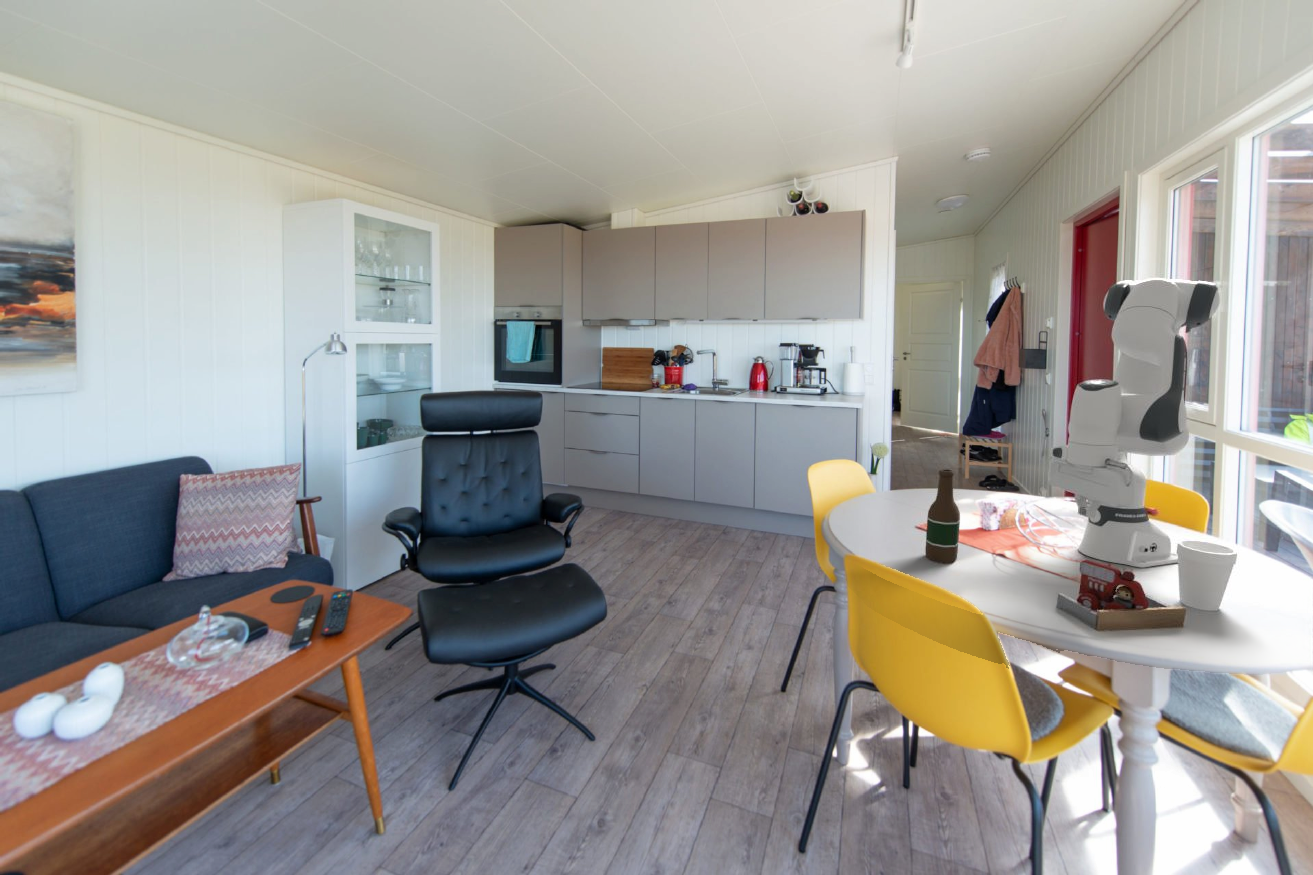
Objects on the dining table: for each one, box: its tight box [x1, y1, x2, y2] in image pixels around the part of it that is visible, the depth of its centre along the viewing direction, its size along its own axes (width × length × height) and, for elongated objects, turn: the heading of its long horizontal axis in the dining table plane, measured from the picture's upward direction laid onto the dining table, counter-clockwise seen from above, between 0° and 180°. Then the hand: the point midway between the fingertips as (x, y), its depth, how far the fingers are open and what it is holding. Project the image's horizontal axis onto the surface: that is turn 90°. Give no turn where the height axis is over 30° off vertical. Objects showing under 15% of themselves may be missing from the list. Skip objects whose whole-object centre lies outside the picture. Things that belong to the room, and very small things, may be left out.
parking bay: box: [1056, 592, 1187, 632], centre depth 123 cm, size 18×11×4 cm, turn 94°
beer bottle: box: [924, 468, 961, 564], centre depth 155 cm, size 8×8×24 cm
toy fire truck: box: [1076, 559, 1148, 612], centre depth 123 cm, size 7×12×10 cm, turn 27°
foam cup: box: [1176, 539, 1238, 612], centre depth 127 cm, size 10×9×13 cm
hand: (1086, 516), depth 131 cm, fingers closed
